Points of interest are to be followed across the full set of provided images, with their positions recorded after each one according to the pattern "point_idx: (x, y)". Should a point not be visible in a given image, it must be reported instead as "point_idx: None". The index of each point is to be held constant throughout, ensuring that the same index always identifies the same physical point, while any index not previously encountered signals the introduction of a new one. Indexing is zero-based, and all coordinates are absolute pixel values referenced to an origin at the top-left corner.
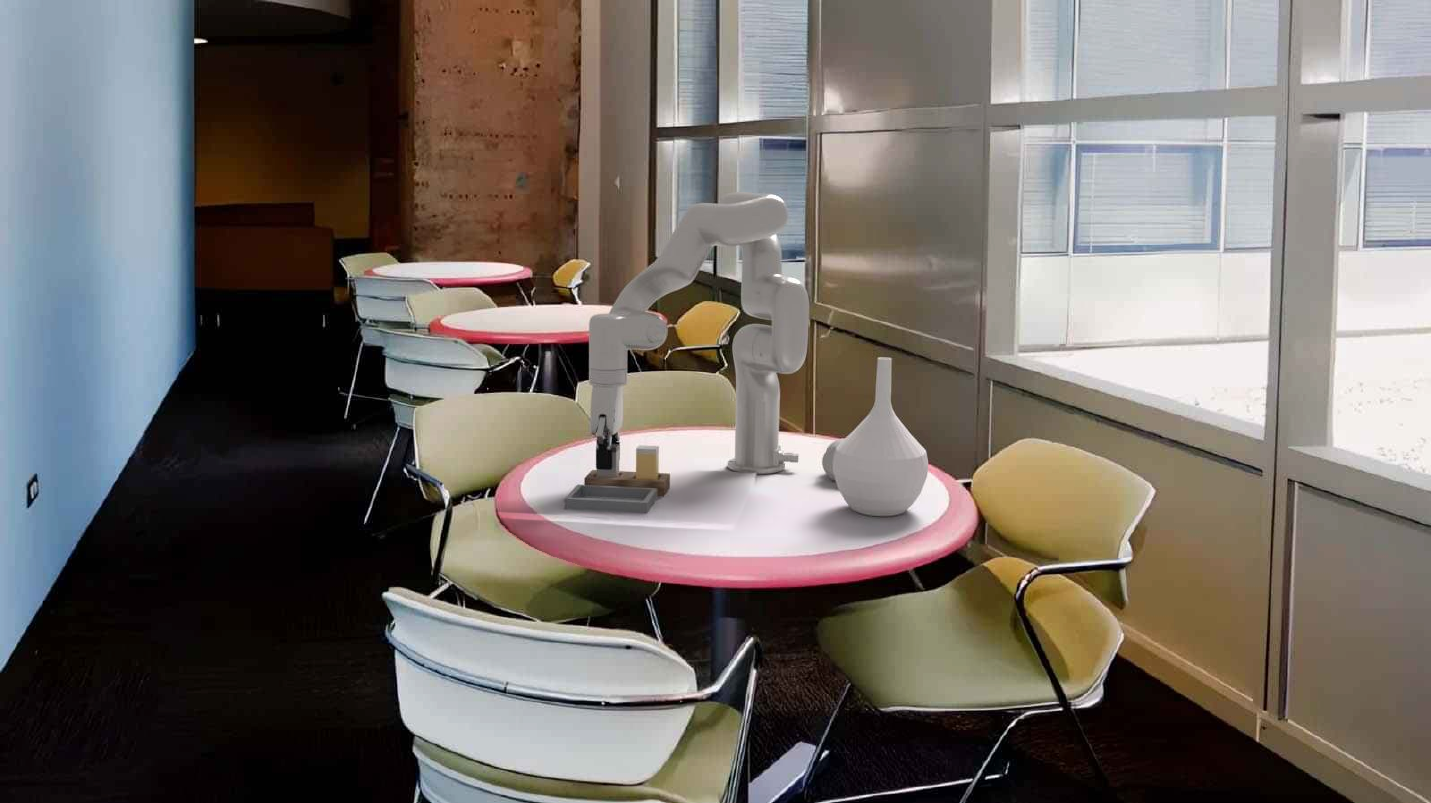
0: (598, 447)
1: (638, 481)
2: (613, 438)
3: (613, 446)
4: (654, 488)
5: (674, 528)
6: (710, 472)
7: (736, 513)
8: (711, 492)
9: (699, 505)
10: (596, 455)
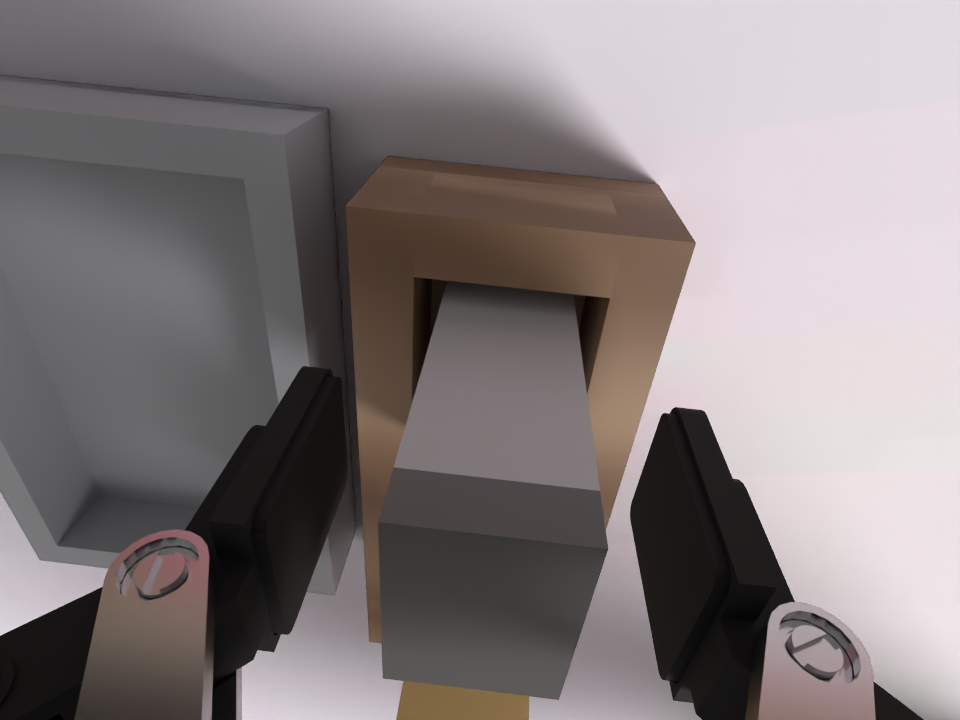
0: (88, 594)
1: (366, 546)
2: (721, 713)
3: (437, 660)
4: (329, 584)
5: (17, 572)
6: (944, 690)
7: (295, 704)
8: (574, 674)
9: (366, 639)
10: (245, 463)
